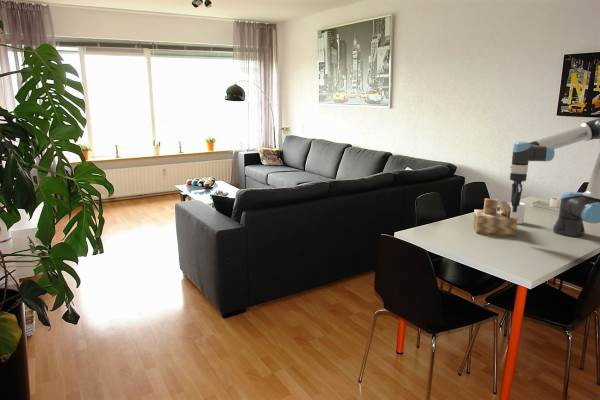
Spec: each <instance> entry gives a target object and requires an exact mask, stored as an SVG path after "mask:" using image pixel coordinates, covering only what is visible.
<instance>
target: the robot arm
mask: <svg viewBox="0 0 600 400" xmlns="http://www.w3.org/2000/svg"><path fill="white" fill-rule="evenodd" d="M591 140H592V141H593V140H599V143H600V117H597V118H595V119H592V120H590V121H586V122H582V123H581V124H580V125H579V126H577V127H574V128H571V129H568V130H565V131H562V132H559V133H556V134H553V135H549V136H546V137H542V138H541V139H537V140H534V141H531V142H528V141H516V142H515V143H513V147H512V155H511V156H512V157H511V158H512V159H511V165H510V166H509V168H510V173H509V174H510V176H509V180H510V181H513V183H512V184H511V198H510V202H511V204H510V206H512V207H511V215H510V217H511V218H517V210H518V206H519V203H520V202H521V197H522V192H523V184H522V183H523V182H526V181H527V176H528V174H527V173H528V168H529V162H551V161H552V160H554V157H555V150H557V149H560V148H563V147H566V146H570V145H572V144H576V143H579V142H583V141H584V142H585V141H586V142H589V141H591ZM597 155H598V156H597V158H596V161H595V163H594V167H593V169H592V172H591V175H590V178H589V181H588V184H587V188H586V190H585V191H584V192H578V191H577V192H576V191H569V192H568V191H565V192H563V193H562V194H561V197H560V204H559V205H560V206H559V211H558V212H559V213H558V218H557V220H556V221H555V224H554V226H553V228H552V232H553V233H555V234H558V235H561V236H566V237H575V238H579V237H584V236H585V233H586V230H585V226H584V222H585V223H589V224H598V223H600V151H599V153H598V154H597Z"/></svg>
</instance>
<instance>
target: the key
mask: <svg viewBox="0 0 600 400" xmlns="http://www.w3.org/2000/svg"><path fill="white" fill-rule="evenodd" d="M510 206H511V204H509V203H508V201H505V200H504V201H503V200H500V205H499V207H500V211H503V213H505V215H506V217H507V218H511V217H510V215H511V207H510ZM513 219H514V218H513Z"/></svg>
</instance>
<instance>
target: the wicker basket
mask: <svg viewBox="0 0 600 400" xmlns="http://www.w3.org/2000/svg"><path fill="white" fill-rule="evenodd" d="M497 211H501V209H500V206H498V205H497ZM473 216H474V217H473V223H472V225H473V229H474V232H475V234H479V235H480V234H481V235H492V236H493V235H495V236H503V237H505V236H506V237H516V234H517V226H518V224H517V220H503V219H489V218H477V216H476V214H475V212H474V214H473Z"/></svg>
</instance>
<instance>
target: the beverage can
mask: <svg viewBox="0 0 600 400" xmlns="http://www.w3.org/2000/svg"><path fill="white" fill-rule="evenodd" d="M510 207H512V206H511V205H510ZM525 214H526V203H524V202H521V201H520V203H519V206H518V210H517V217H518V220H517V225H521V224H524V221H525V216H526V215H525Z"/></svg>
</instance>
